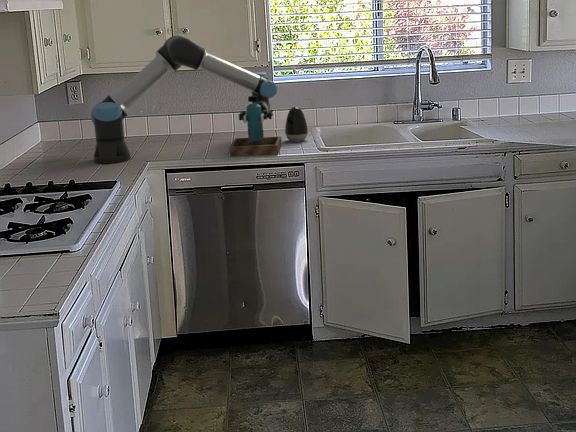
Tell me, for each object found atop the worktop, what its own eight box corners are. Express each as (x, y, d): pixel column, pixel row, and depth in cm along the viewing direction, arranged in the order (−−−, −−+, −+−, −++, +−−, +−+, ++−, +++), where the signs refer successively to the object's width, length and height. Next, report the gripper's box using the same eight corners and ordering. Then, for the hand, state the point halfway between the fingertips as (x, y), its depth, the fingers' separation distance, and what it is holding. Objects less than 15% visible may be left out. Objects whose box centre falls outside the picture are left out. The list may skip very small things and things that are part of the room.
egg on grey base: (282, 143, 380) (280, 108, 376) (289, 138, 389) (287, 105, 385) (304, 143, 377) (303, 108, 373) (311, 138, 386) (309, 104, 382)
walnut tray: (229, 156, 356) (229, 147, 355) (235, 147, 376) (235, 138, 374) (278, 154, 355) (277, 145, 354) (281, 145, 374) (281, 136, 373)
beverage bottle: (262, 144, 361) (259, 96, 355) (247, 145, 362) (243, 97, 356) (265, 141, 367) (262, 94, 362) (250, 142, 368) (246, 95, 363)
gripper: (281, 118, 379) (277, 127, 357) (237, 120, 380) (230, 129, 358) (280, 101, 377) (276, 109, 355) (236, 103, 378) (229, 111, 356)
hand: (253, 119), depth 357 cm, fingers closed on beverage bottle, 6 cm apart
